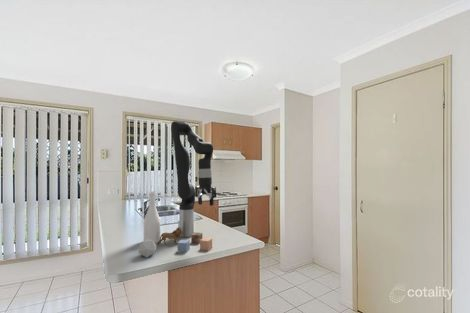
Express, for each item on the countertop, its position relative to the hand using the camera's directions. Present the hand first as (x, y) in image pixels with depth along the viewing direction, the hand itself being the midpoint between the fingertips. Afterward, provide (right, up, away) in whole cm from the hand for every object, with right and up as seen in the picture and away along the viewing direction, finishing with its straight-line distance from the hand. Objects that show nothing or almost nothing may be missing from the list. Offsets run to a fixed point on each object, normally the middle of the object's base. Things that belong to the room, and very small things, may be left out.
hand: (205, 204), depth 137 cm
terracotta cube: (+1, -23, -5) cm, 24 cm away
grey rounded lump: (-28, -23, -15) cm, 39 cm away
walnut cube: (-6, -24, +6) cm, 25 cm away
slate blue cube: (-11, -23, -8) cm, 27 cm away
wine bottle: (-33, -24, +7) cm, 41 cm away
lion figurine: (-21, -24, +3) cm, 32 cm away
